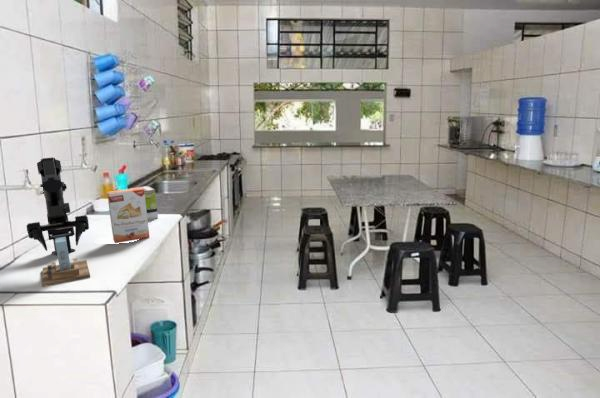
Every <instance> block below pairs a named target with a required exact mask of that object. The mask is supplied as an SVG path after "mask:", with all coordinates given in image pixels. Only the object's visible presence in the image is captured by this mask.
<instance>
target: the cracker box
mask: <svg viewBox="0 0 600 398" xmlns="http://www.w3.org/2000/svg"><path fill="white" fill-rule="evenodd" d="M134 188H135V189H129V188H126V189H120V190H112V191H107V192H106V195H107V201H108V202H107V203H108V204H107V205H108V209H109V210H108V211H109V218H110V224H111V225H110V226H111V233H112V240H113V242H114V244H117V243H118V244H120V243H125V242H129V241H135V240H136V241H137V240H143V239H148V238H150V230H149V220H147V211H146V202H145V194H144V189H142V188H137V187H134Z"/></svg>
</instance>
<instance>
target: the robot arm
mask: <svg viewBox="0 0 600 398" xmlns="http://www.w3.org/2000/svg"><path fill="white" fill-rule="evenodd" d="M36 166H37V172H38V175H40V177H41V184H39V185H40V187H43V191H44V192H43V193H41V192H40V194H41V195H44V199H45V205H46V212H47V213H46V218H47V224H43V225H42V224H41V223H40V221H36V222H28V223H27V224H26V231H27V235H28V238H29V239H33V240H37V241H38V242H39V243H40V244H41V246H42V247H43V248H44V250H45V251H46V252H47V251H48V246H47V242H46V240H45V236H44V233H43V232H47V234H48V240H49V241H51V240H52V241H53V247H54V251H51V252H52V253H51V254H53V253H54V254H53V255H56V254H57V250H56V245H55V238H58V237H65V236H66V242H67V248H68V254H69V253H72V252H76V249H74V248H72V246H71V240H70V237H74V236H75V245H76V247H77V246H78V245H79V242H80V238H81V236H82V234H83V233H85V232H86V231H87V230H89V229H90V225H89V218H88V216H87V215H86V214H82V215H78V216H74V219H75V220H69V216H68V214H69V213H71V207H70V203H69V202H65V200H64V192H66V189H67V184H66V183H65V182H64V181H62V178H61V177H62V176H61V173H62V171H63V169H62V164H61V160H58V159H56V158H55V157H46V158H45V157H44V158H43V157H42V158H41V159H40V160H39V161H37V162H36ZM40 187H39V188H40Z"/></svg>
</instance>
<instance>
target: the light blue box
mask: <svg viewBox="0 0 600 398" xmlns="http://www.w3.org/2000/svg"><path fill="white" fill-rule="evenodd" d="M55 245H56V250H57V255H56V256H57V261H58V265H59V268H60V271H65V270H70V269H71V266H70V263H71V261H70V254H69V253H68V248H67V242H66V236H65V237H58V238H55Z"/></svg>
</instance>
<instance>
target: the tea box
mask: <svg viewBox="0 0 600 398" xmlns="http://www.w3.org/2000/svg"><path fill="white" fill-rule="evenodd" d="M135 188H142V189H144V194H145V202H146V211H147V220H148V221H150V220H155V219H158V218H159V213H158V204H157V195H156V194H157V193H156V189H155V188H153V187H151V186H148V185H147V186H146V185H145V186H137V187H130V188H128V189H135Z"/></svg>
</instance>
